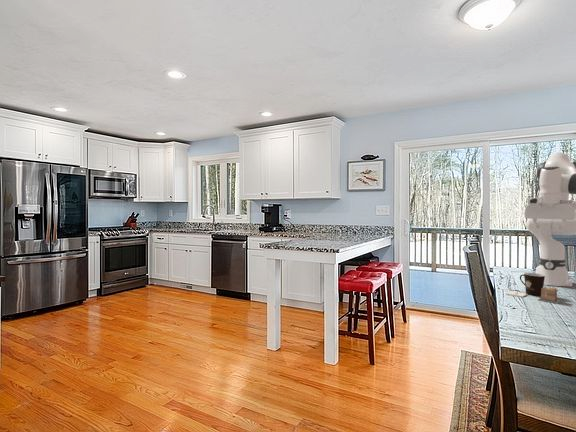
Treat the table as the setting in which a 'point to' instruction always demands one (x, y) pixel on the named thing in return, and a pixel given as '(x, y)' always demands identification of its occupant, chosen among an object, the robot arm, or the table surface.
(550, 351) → the table surface
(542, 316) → the table surface
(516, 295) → the tile
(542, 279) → the coffee mug
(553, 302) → the tile
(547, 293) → the letter cube
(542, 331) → the table surface
